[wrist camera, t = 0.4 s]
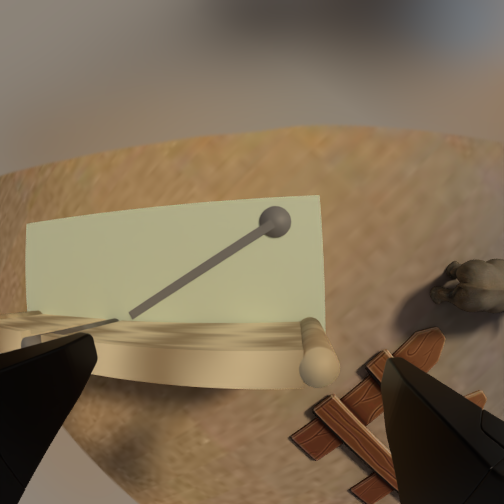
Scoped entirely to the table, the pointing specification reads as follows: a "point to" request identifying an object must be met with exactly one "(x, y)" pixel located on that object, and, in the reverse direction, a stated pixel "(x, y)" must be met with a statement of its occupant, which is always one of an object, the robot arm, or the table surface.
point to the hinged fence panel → (215, 354)
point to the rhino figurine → (475, 286)
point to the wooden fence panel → (40, 327)
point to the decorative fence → (369, 416)
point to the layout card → (182, 263)
